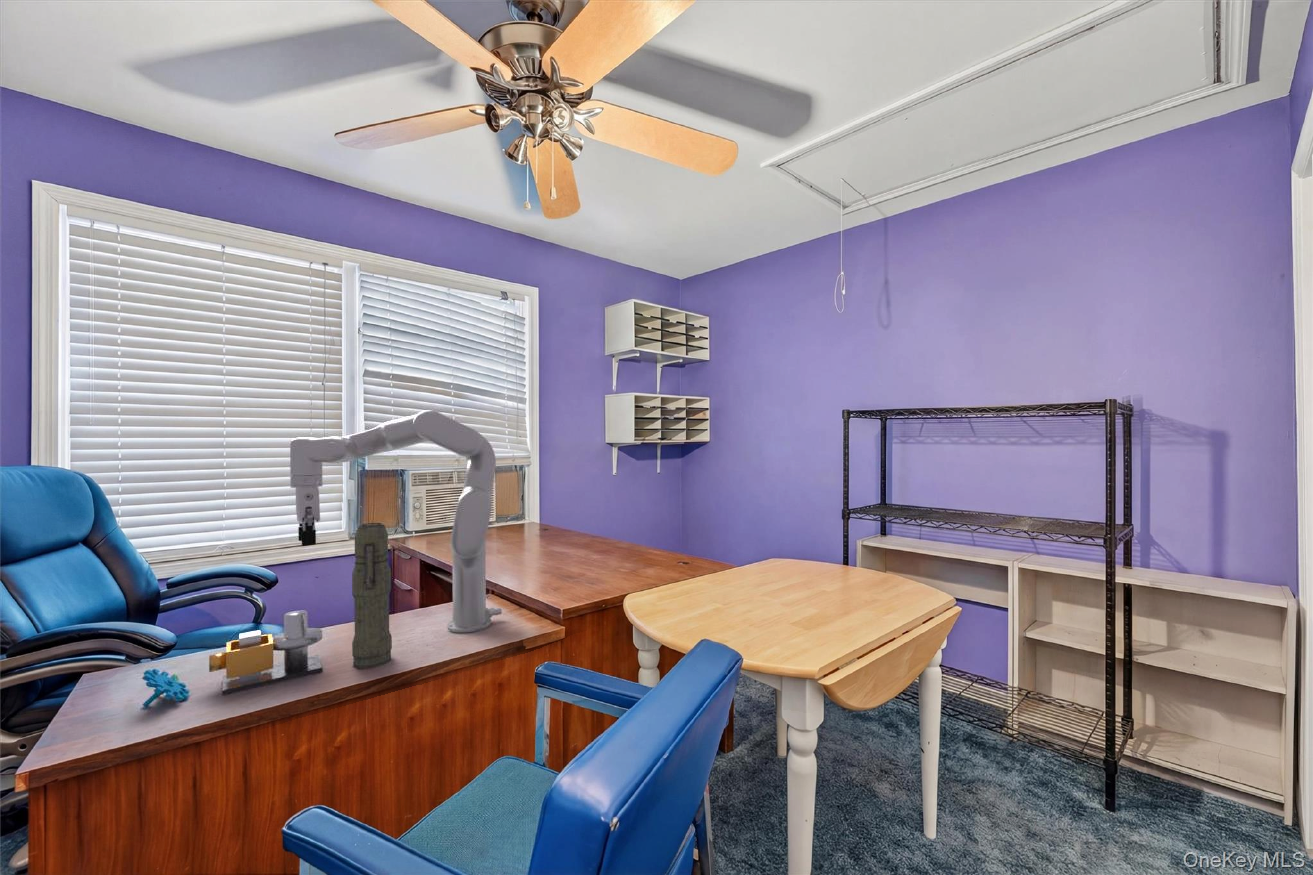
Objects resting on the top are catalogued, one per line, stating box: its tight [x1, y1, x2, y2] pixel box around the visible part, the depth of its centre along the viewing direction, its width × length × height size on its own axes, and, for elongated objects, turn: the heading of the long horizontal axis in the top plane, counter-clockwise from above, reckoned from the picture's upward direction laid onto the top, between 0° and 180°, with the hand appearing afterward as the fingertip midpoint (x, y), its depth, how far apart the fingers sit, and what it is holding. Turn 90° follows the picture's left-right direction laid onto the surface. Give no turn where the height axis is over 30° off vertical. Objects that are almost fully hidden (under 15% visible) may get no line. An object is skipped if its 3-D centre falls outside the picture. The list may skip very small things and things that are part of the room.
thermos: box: [351, 522, 393, 669], centre depth 135 cm, size 9×12×35 cm
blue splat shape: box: [141, 668, 191, 708], centre depth 114 cm, size 11×6×10 cm
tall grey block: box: [238, 629, 262, 682], centre depth 125 cm, size 4×4×10 cm
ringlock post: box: [208, 609, 324, 696], centre depth 127 cm, size 22×11×14 cm, turn 128°
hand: (307, 542), depth 148 cm, fingers open, 9 cm apart
